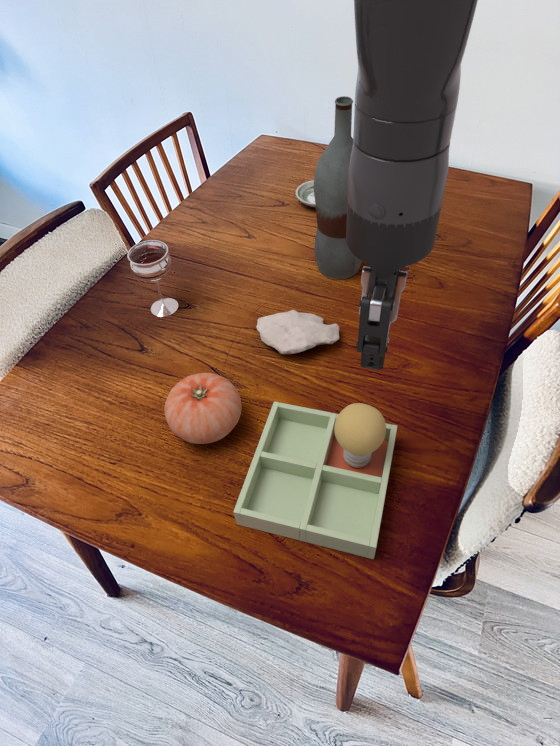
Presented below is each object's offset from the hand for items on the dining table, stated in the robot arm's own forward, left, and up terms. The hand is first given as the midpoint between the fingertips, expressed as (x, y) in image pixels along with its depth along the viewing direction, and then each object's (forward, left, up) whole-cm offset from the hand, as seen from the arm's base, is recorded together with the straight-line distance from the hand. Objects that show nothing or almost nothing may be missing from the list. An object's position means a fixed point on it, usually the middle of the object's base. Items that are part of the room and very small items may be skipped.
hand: (378, 336), depth 54 cm
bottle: (+12, -39, -23) cm, 47 cm away
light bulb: (+1, +1, -23) cm, 23 cm away
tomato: (+23, +1, -23) cm, 33 cm away
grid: (+5, +6, -23) cm, 24 cm away
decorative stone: (+15, -19, -23) cm, 34 cm away
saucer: (+21, -60, -23) cm, 68 cm away
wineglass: (+40, -21, -23) cm, 51 cm away
